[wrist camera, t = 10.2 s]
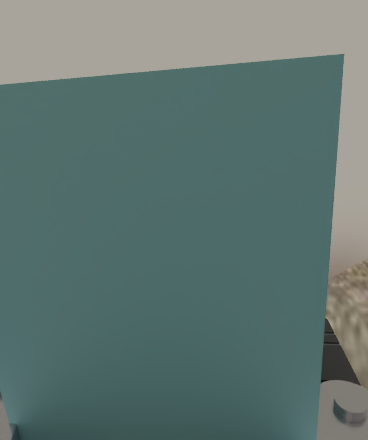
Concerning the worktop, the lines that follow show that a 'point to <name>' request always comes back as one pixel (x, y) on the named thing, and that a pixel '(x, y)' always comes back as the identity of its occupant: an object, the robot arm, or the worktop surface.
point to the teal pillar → (168, 251)
